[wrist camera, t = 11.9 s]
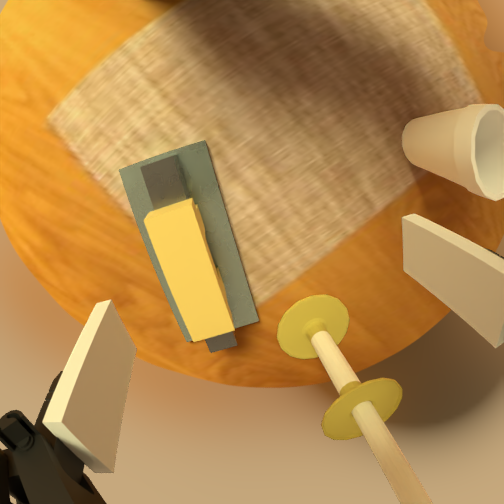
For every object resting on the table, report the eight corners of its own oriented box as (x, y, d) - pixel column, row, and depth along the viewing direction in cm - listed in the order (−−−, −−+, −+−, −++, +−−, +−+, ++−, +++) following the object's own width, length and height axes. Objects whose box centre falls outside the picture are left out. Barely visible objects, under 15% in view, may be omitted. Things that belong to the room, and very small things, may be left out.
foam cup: (414, 193, 35) (489, 219, 23) (378, 133, 32) (457, 136, 19) (454, 151, 34) (527, 165, 22) (423, 93, 31) (500, 88, 18)
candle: (267, 355, 39) (353, 597, 9) (289, 289, 36) (445, 559, 6) (333, 359, 41) (445, 554, 11) (359, 298, 39) (526, 494, 8)
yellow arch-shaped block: (155, 204, 29) (143, 220, 23) (193, 191, 29) (191, 204, 23) (193, 307, 33) (193, 342, 27) (228, 297, 34) (234, 330, 28)
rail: (121, 168, 29) (107, 173, 24) (204, 140, 29) (205, 139, 25) (187, 337, 36) (186, 363, 32) (257, 316, 37) (265, 340, 32)
